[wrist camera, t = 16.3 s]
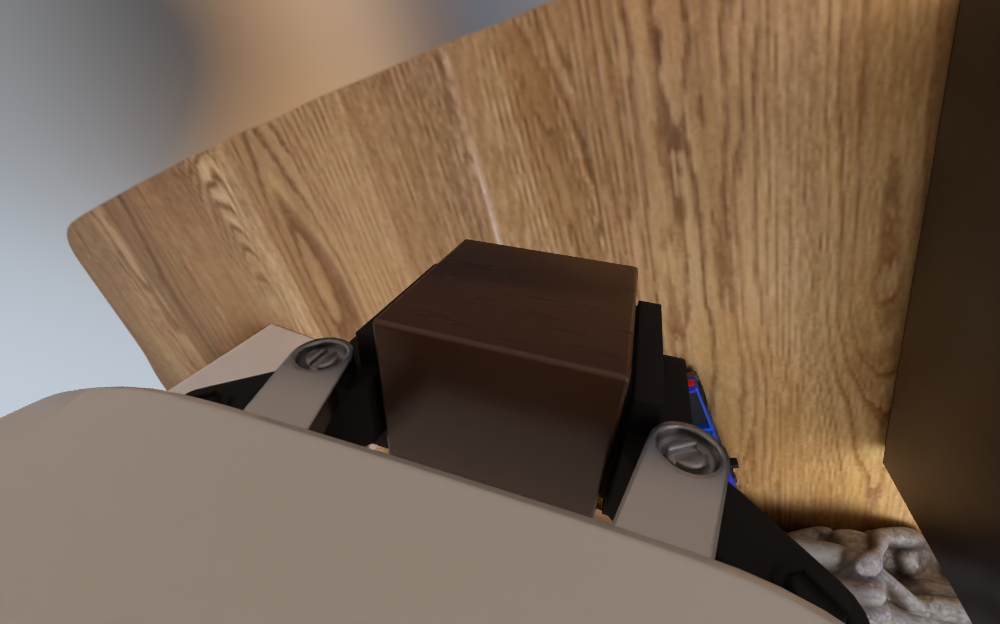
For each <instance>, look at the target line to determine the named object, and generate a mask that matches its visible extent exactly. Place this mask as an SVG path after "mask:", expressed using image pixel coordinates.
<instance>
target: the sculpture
mask: <svg viewBox="0 0 1000 624" xmlns="http://www.w3.org/2000/svg"><path fill="white" fill-rule="evenodd" d="M787 534H788V535H789V536H790V537H791V538H792V539H793V540H795V541H796V542H797V543H798V544H799V545H800V546H801V547H802V548H804V549H805V550H806V551H807V552H808V553H809V554H810V555H811V556H813V557H814V558H815V559H816V560H817V561H818V562H819V563H820V564H822V565H823V566H824V567H825V568H826V569H827V570H828V571H829V572H830V573H832V574H833V575H834V576H835V577H836V578H837V579H838V580H839V581H840V582H841V583H842V584H843V585H844V586H845V587H846V588H847V589H848V590H849V591H850V592H851V593H852V594H853V595H854V596H855V598H856V599H857V601H858V602H859V604H860V605H861V607H862V608H863V609H864V611H865V612H866V615H867V617H868V620H869V622H870V624H972V623H971V621H970V619H969V617H968V615H967V614H966V612H965V610H964V608H963V606H962V605H961V603H960V601H959V599H958V597H957V595H956V594H955V592H954V590H953V588H952V586H951V585H950V583H949V581H948V579H947V577H946V576H945V574H944V572H943V570H942V568H941V567H940V565H939V563H938V561H937V559H936V558H935V556H934V554H933V552H932V550H931V549H930V547H929V545H928V543H927V542H926V540H925V538H924V536H923V535H922V534H921V533H920V532H919V531H917V530H915V529H912V528H908V527H886V528H879V529H874V530H868V531H865V532H860V531H856V530H851V529H838V530H834V531H833V530H832V529H830V528H828V527H825V526H815V527H811V528H806V529H801V530H797V531H792V532H789V533H787Z"/></svg>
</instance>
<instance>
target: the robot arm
mask: <svg viewBox="0 0 1000 624" xmlns="http://www.w3.org/2000/svg"><path fill="white" fill-rule="evenodd" d="M436 265H437V264H434V265H433V266H432V267H431V268H430V269H428V270H427V271H426V272H425V273H424V274H423V275H421V276H420V277H419V278H418V279H417V280H416V281H415V282H413V283H412V284H411V285H410V286H409V287H408V288H407V289H405V290H404V291H403V292H402V293H401V294H400V295H399V296H397V297H396V298H395V299H394V300H393V301H392V302H390V303H389V304H388V305H387V306H386V307H385V308H384V309H382V310H381V311H380V312H379V313H378V314H377V315H376V316H374V317H373V318H372V319H371V320H370V321H369V322H367V323H366V324H365V325H364V326H363V327H362V328H361V329H359V330H358V331H357V332H356V337H354V338H353V339H352V340H351V341H350V342H348V341H345V340H343V339H339V338H320V339H315V340H312V341H309V342H306V343H304V344H302V345H300V346H298V347H297V348H296V349H295V350H293V351H292V352H291V353H290V354H289V356H288V357H287V358H286V359H285V360H284V362H283V363H282V364H281V365H280V366H279V368H278V369H277V370H276V371H273V372H269V373H265V374H260V375H256V376H252V377H247V378H243V379H239V380H234V381H230V382H226V383H221V384H217V385H212V386H208V387H204V388H200V389H196V390H193V391H190V392H188V393H186V394H185V395H184V394H180V393H175V392H169V391H163V390H157V389H150V388H136V387H99V388H88V389H80V390H74V391H68V392H63V393H58V394H55V395H52V396H49V397H46V398H44V399H41V400H39V401H37V402H34V403H32V404H30V405H28V406H25V407H23V408H21V409H19V410H17V411H15V412H13V413H10V414H8V415H6V416H4V417H2V418H0V624H870V622H869V620H868V617H867V615H866V612H865V611H864V609H863V608H862V607H861V605H860V604H859V602H858V601H857V599H856V598H855V596H854V595H853V594H852V593H851V592H850V591H849V590H848V589H847V588H846V587H845V586H844V585H843V584H842V583H841V582H840V581H839V580H838V579H837V578H836V577H835V576H834V575H833V574H832V573H830V572H829V571H828V570H827V569H826V568H825V567H824V566H823V565H822V564H820V563H819V562H818V561H817V560H816V559H815V558H814V557H813V556H811V555H810V554H809V553H808V552H807V551H806V550H805V549H804V548H802V547H801V546H800V545H799V544H798V543H797V542H796V541H795V540H793V539H792V538H791V537H790V536H789V535H788V534H787V533H786V532H785V531H783V530H782V529H781V528H780V527H779V526H778V525H777V524H776V523H774V522H773V521H772V520H771V519H770V518H769V517H768V516H767V515H765V514H764V513H763V512H762V511H761V510H760V509H759V508H758V507H757V506H755V505H754V504H753V503H752V502H751V501H750V500H749V499H748V498H746V497H745V496H744V495H743V494H742V493H741V492H740V491H739V490H737V489H736V488H735V487H734V486H733V485H732V484H731V483H730V482H729V481H728V479H729V473H730V458H729V455H728V453H727V451H726V449H725V448H724V447H723V445H722V444H721V443H720V442H719V441H718V440H717V439H716V438H715V437H713V436H712V435H711V434H709V433H708V432H707V431H705V430H703V429H701V428H699V427H697V426H695V425H693V422H692V413H691V404H690V396H689V387H688V378H687V370H686V362H685V360H684V359H682V358H677V357H672V356H667V355H663V340H662V314H661V305H660V304H655V303H649V302H644V301H639V302H638V305H637V306H636V310H635V325H634V339H633V353H632V368H631V381H630V385H629V388H628V392H627V396H626V399H625V403H624V407H623V411H622V414H621V418H620V422H619V426H618V429H617V433H616V437H615V440H614V444H613V448H612V452H611V455H610V459H609V463H608V467H607V470H606V474H605V478H604V481H603V485H602V489H601V493H600V496H599V498H603V506H602V514H604V515H607V516H608V517H609V518H610V519H611V520H612V524H609V523H606V522H602V521H599V520H596V519H593V518H590V517H587V516H584V515H580V514H577V513H574V512H571V511H568V510H565V509H561V508H558V507H555V506H552V505H549V504H546V503H542V502H539V501H536V500H533V499H530V498H527V497H524V496H520V495H517V494H514V493H511V492H508V491H505V490H501V489H498V488H495V487H492V486H489V485H486V484H482V483H479V482H476V481H473V480H470V479H466V478H463V477H460V476H457V475H454V474H450V473H447V472H444V471H441V470H438V469H434V468H431V467H428V466H425V465H421V464H418V463H415V462H412V461H409V460H405V459H402V458H399V457H396V456H392V455H389V454H386V453H383V452H379V451H376V450H373V449H370V448H369V445H370V444H375V445H378V446H382V447H385V448H388V440H387V432H386V424H385V416H384V408H383V401H382V393H381V385H380V377H379V369H378V361H377V353H376V345H375V338H374V330H373V321H374V319H375V318H376V317H378V316H379V315H380V314H381V313H382V312H383V311H384V310H386V309H387V308H388V307H389V306H390V305H391V304H392V303H393V302H395V301H396V300H397V299H398V298H399V297H400V296H401V295H403V294H404V293H405V292H406V291H407V290H408V289H409V288H411V287H412V286H413V285H414V284H415V283H416V282H417V281H419V280H420V279H421V278H422V277H423V276H424V275H425V274H426V273H428V272H429V271H430V270H431V269H432V268H433V267H434V266H436ZM388 449H389V448H388Z"/></svg>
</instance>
